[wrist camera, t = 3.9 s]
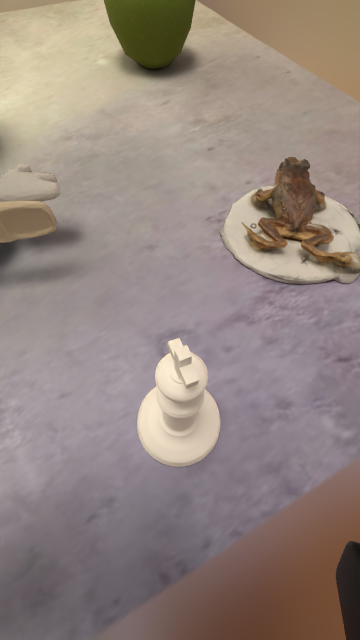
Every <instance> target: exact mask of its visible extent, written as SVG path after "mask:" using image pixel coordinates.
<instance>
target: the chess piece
mask: <svg viewBox="0 0 360 640" xmlns="http://www.w3.org/2000/svg"><path fill="white" fill-rule="evenodd" d="M168 349H169V351H170V353H169V354H167V355H166V356H165V357H163V358H162V359H161V361H160V362H159V364H158V365H157V368H156V372H155V381H156V384H157V386H156V387H155V388H153V389H152V390H151V391H150V392H149V393H148V394H147V395H146V397H145V398H144V400H143V402H142V404H141V406H140V409H139V413H138V418H137V430H138V435H139V438H140V441H141V443H142V445H143V447H144V448H145V450H146V451H147V452H148V453H149V454H150V455H151V456H152V457H153V458H154V459H156V460H157V461H159V462H161V463H163V464H165V465H169V466H174V467H184V466H189V465H192V464H195V463H197V462H199V461H200V460H202V459H203V458H205V457H206V456H207V455H208V454H209V453H210V452H211V450H212V449H213V448H214V446H215V444H216V442H217V440H218V437H219V433H220V414H219V410H218V407H217V404H216V402H215V400H214V399H213V397H212V396H211V395H210V393H209V392H208V391H207V390H206V389H205V387H206V385H207V382H208V371H207V368H206V366H205V364H204V362H203V361H202V360H201V359H200V358H199V357H198V356H197V355H195V354H193V353H191V352H190V351H189V349H188V346H187V345H185V346H183V345H182V343H181V341H180V339H179V338H177V339H174V340H171V341H169V342H168Z"/></svg>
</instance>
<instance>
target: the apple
mask: <svg viewBox="0 0 360 640" xmlns="http://www.w3.org/2000/svg"><path fill="white" fill-rule="evenodd" d="M104 3H105V6H106V10H107V13H108V17H109V21H110V24H111V26H112V28H113V30H114V32H115V34H116V36H117V38H118V40H119V42H120V44H121V46H122V48H123V50H124V52H125V54H126V55H127V56H129V57H130V58H132V59H133V60H135V61H136V62H138V63H139V64H141V65H142V66H144V67H147V68H151V69H157V68H162V67H165V66H166V65H168V64H169V63H170V62H171V61H172V60H173V59H174V58H175V57H176V56H177V55H178V54H179V53H180V52H181V50H182V48H183V45H184V43H185V40H186V38H187V35H188V33H189V30H190V28H191V23H192V17H193V11H194V6H195V0H104Z"/></svg>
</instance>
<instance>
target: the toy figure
mask: <svg viewBox="0 0 360 640" xmlns="http://www.w3.org/2000/svg"><path fill="white" fill-rule="evenodd" d="M56 183H57V180H56V177H55V176H54V175H52V174H49V173H32V171H31V169H30V167H29V166H28V165H26V164H22V165H18V166H15V167H13V168H12V169H10V170H9V171H7V172H5V173H4V174H2V175H1V176H0V242H1V243H4V242H12V241H14V240H17V239H24V238H31V237H38V236H43V235H45V234H48V233H51V232H54V231H55V229H56V219H55V216H54V214H53V213H52V211H51V209H50V208H49V207H48V206H47V205H46V204H45V203H42V201H47V200H51V199H54V198H56V197H58V196H59V194H60V188H59V186H58V185H57V184H56Z"/></svg>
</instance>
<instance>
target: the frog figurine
mask: <svg viewBox="0 0 360 640" xmlns="http://www.w3.org/2000/svg"><path fill="white" fill-rule="evenodd" d="M309 168H310V164H309V163H308V160H305V159H304V160H301V161H298V160H297V159H296V158H295V157H289V158H287V159H285V161H284V162H282V163H281V165H280V166H279V169H278V170H277V173H276V178H275V186H265V187H263V188H259V189H255V190H253V191H250V192H249V193H248V194H246V195H244V196H243V197H242V198H241V199H239V200H238V201H237V202H235V203H233V206H232V208H231V211H230V214H229V216H228V217H227V218H226V219H225V224H224V226H223V230H222V231H221V232H220V235H221V236H222V240H223V242H224V244H225V246H226V248H227V249H228V250H229V251H230V252H231V253H233V255H235V256H234V257H235V258H236V259H238V260H239V261H240V262H241V264H244V265H245V266H246V267H248V268H251V269H252V270H253V271H255V272H256V273H258V274H260V275H262V276H264V277H266V278H271V279H273V280H276V281H279V282H284V283H298V284H311V283H320V282H326V281H328V280H332V279H334V280H336V281H339V282H340V283H352V282H353V281H354V280H355V279H356V278H357V277H358V276H359V274H360V224H359V222H358V221H357V220H356V219H355V217H354V215H353V213H352V212H351V211H350V210H349V209H347V208H345V207H344V206H343V205H342V204H340V203H338V202H337V201H335V200H333V199H330V198H328V197H326V196H325V194H324V193H323V192H320V191H317V190H315V186H314V185H312V184H311V182H310V179H309V176H310V175H309V172H308V171H307V170H308V169H309Z"/></svg>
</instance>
